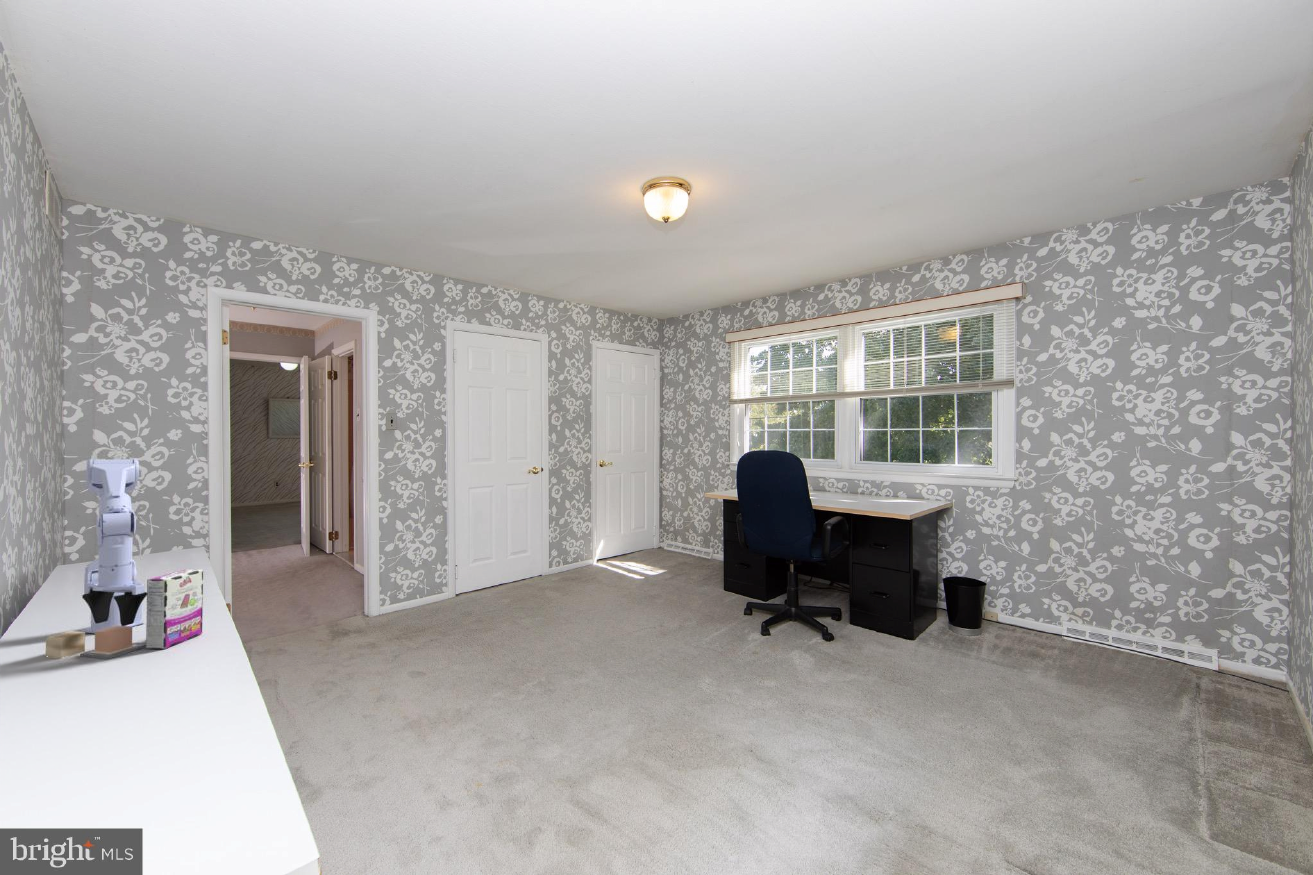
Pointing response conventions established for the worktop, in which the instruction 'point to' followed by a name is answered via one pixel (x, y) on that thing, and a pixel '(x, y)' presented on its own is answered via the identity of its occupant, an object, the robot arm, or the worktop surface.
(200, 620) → the candy bar box
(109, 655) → the build plate
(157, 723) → the worktop surface
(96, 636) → the terracotta cube
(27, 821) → the worktop surface
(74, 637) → the maple cube
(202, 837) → the worktop surface
